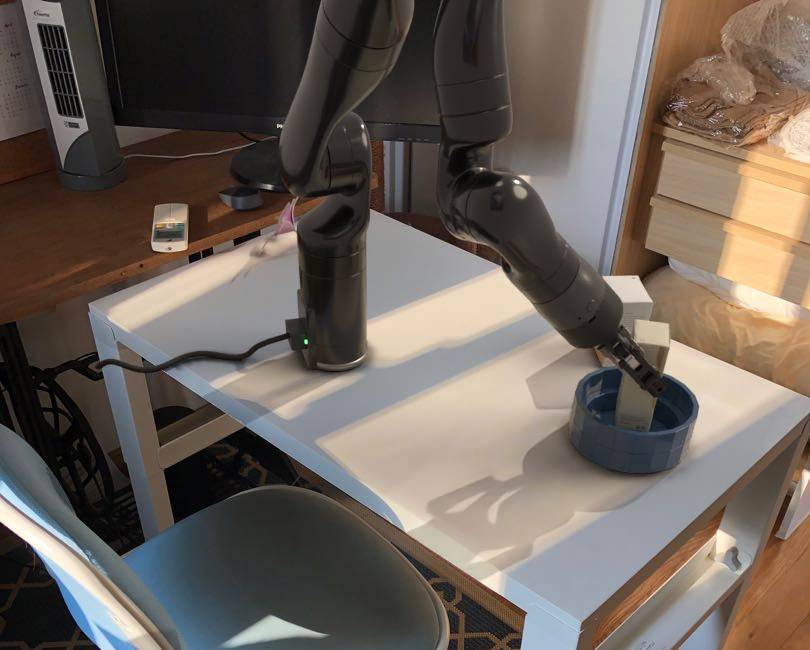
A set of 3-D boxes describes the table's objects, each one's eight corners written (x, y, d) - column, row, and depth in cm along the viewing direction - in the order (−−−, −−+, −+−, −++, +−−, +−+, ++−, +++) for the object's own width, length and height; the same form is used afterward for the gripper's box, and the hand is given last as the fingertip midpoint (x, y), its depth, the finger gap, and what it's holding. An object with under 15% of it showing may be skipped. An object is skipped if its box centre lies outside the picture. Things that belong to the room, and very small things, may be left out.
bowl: (599, 486, 113) (609, 443, 108) (549, 415, 123) (556, 374, 119) (709, 465, 116) (722, 424, 112) (651, 398, 127) (661, 358, 123)
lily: (298, 232, 165) (268, 186, 159) (344, 224, 157) (314, 176, 151) (263, 276, 160) (230, 231, 154) (308, 270, 152) (275, 223, 146)
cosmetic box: (648, 433, 115) (671, 348, 106) (614, 428, 115) (633, 343, 107) (649, 405, 119) (670, 321, 111) (615, 400, 120) (634, 317, 111)
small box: (588, 339, 138) (600, 274, 131) (624, 338, 139) (638, 274, 131) (601, 368, 132) (614, 302, 125) (638, 367, 133) (654, 301, 126)
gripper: (525, 294, 109) (597, 365, 119) (576, 356, 99) (649, 427, 109) (572, 247, 106) (641, 324, 117) (629, 305, 96) (699, 384, 107)
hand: (645, 374), depth 113 cm, fingers closed on cosmetic box, 7 cm apart
